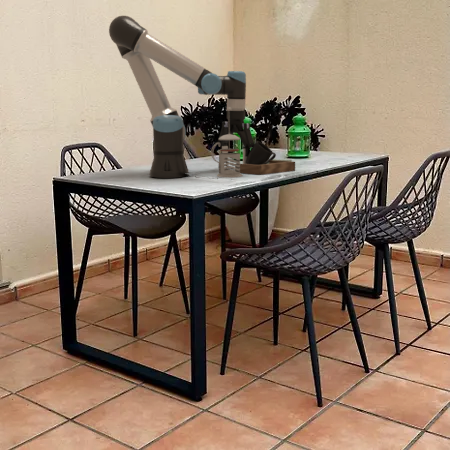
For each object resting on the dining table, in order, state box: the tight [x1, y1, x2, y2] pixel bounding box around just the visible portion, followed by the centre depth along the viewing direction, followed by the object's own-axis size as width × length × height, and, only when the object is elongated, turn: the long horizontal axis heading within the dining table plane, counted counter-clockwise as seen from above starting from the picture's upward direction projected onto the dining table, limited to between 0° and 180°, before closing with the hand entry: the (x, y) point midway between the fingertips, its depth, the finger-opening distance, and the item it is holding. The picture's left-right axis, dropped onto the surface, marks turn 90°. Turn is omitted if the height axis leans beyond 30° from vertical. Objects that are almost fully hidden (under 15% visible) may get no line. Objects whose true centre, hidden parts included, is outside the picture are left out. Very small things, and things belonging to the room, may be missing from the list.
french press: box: [211, 107, 244, 178], centre depth 235 cm, size 10×12×25 cm
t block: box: [267, 158, 293, 164], centre depth 269 cm, size 8×11×3 cm
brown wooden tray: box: [234, 159, 296, 176], centre depth 250 cm, size 21×13×4 cm, turn 134°
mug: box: [246, 140, 277, 165], centre depth 259 cm, size 8×12×10 cm
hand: (235, 163), depth 265 cm, fingers open, 12 cm apart
